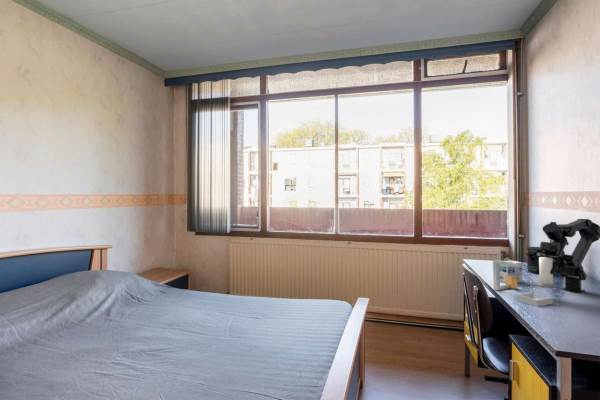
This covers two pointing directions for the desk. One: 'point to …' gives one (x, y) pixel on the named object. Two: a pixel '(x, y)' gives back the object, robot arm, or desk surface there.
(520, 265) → the light bulb box
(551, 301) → the gray square tray
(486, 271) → the desk surface
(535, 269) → the storage jar
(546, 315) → the desk surface
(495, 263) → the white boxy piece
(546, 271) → the white cylinder
